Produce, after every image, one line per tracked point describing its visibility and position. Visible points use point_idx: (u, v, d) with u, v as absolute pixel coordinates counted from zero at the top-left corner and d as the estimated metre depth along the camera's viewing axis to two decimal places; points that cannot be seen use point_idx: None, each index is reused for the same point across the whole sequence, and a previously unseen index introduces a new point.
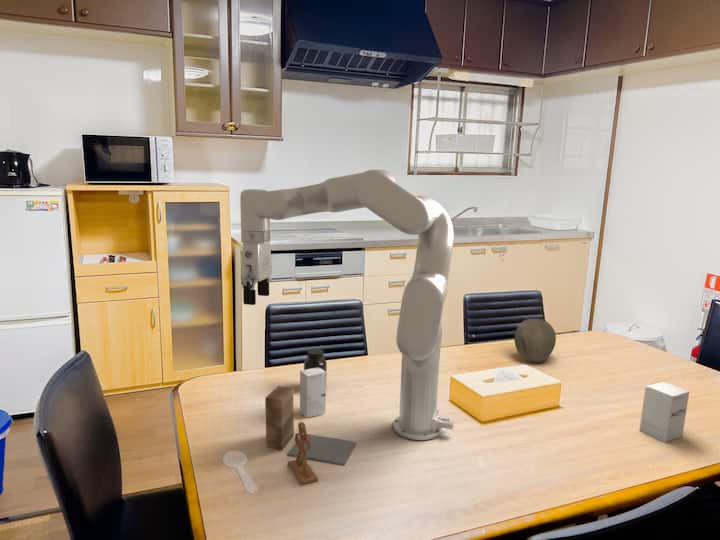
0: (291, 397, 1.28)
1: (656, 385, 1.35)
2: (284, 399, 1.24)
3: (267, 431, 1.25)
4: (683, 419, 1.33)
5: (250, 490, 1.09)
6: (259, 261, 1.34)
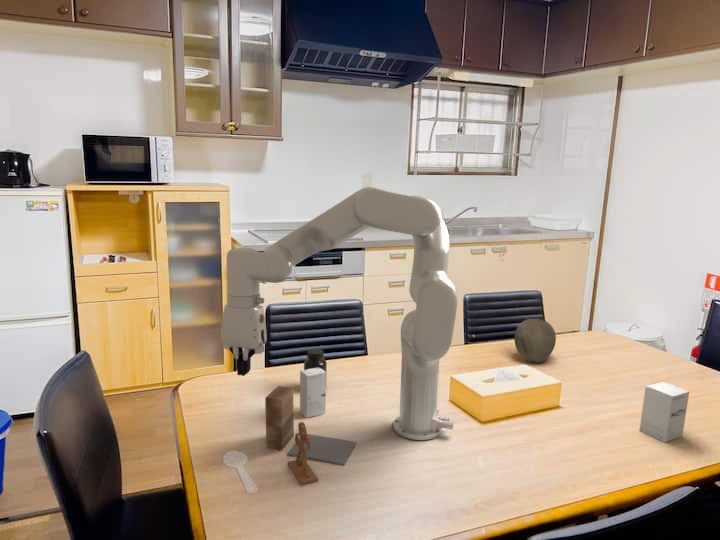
0: (291, 397, 1.28)
1: (656, 385, 1.35)
2: (284, 399, 1.24)
3: (267, 431, 1.25)
4: (683, 419, 1.33)
5: (250, 490, 1.09)
6: None
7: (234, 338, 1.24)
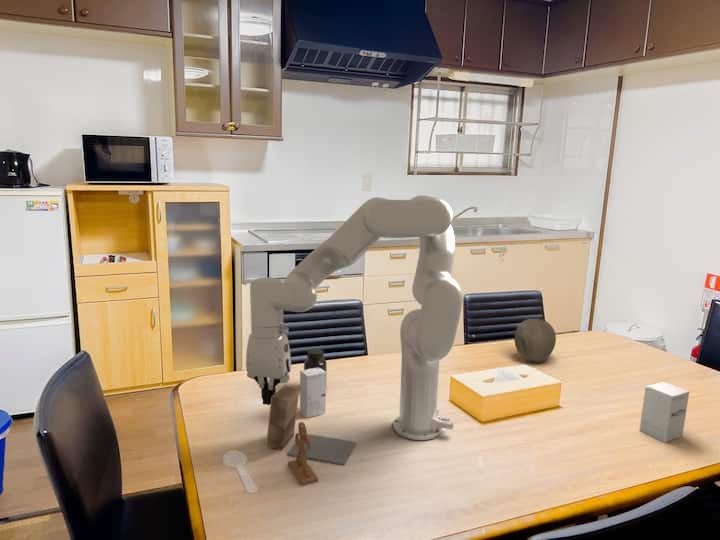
0: (296, 398, 1.27)
1: (656, 385, 1.35)
2: (290, 400, 1.23)
3: (269, 430, 1.24)
4: (683, 419, 1.33)
5: (250, 490, 1.09)
6: None
7: (259, 368, 1.23)
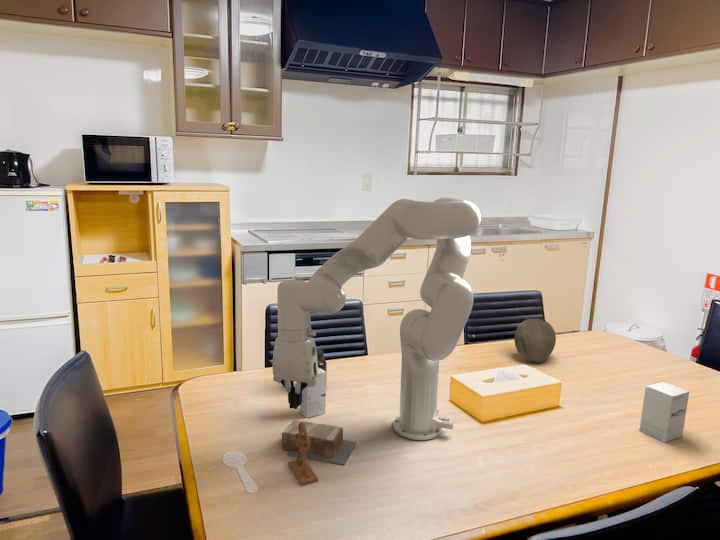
0: None
1: (656, 385, 1.35)
2: None
3: (298, 437, 1.23)
4: (683, 419, 1.33)
5: (250, 490, 1.09)
6: None
7: (286, 372, 1.22)
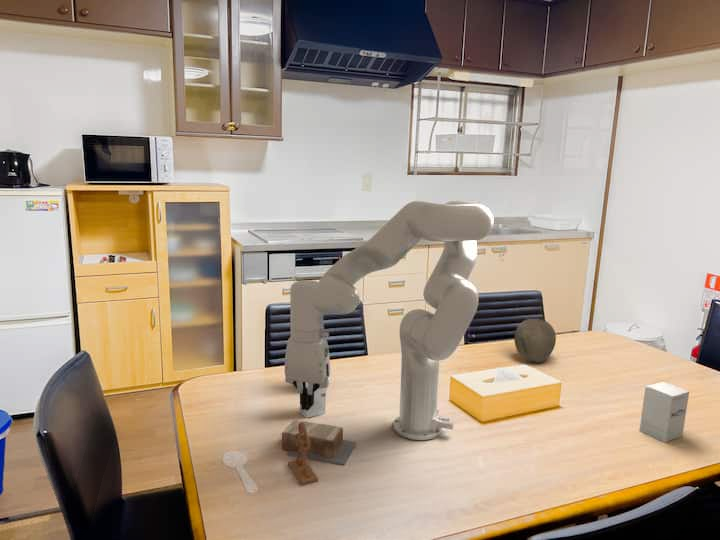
0: None
1: (656, 385, 1.35)
2: None
3: (298, 437, 1.23)
4: (683, 419, 1.33)
5: (250, 490, 1.09)
6: None
7: (298, 373, 1.21)
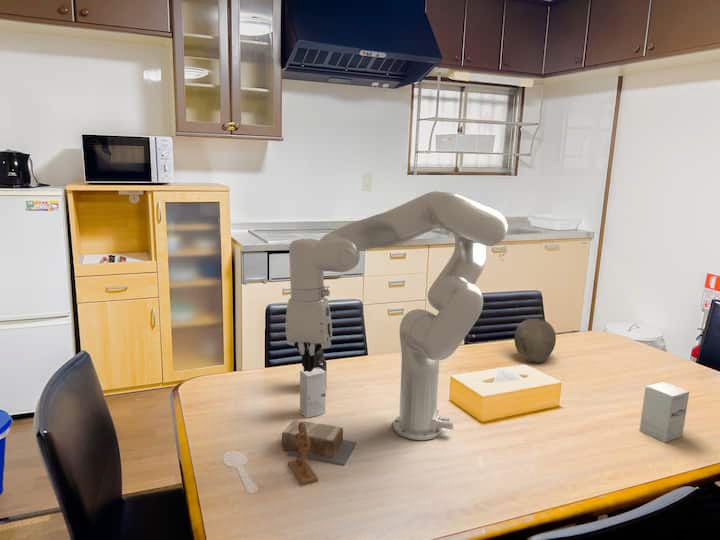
0: None
1: (656, 385, 1.35)
2: None
3: (298, 437, 1.23)
4: (683, 419, 1.33)
5: (250, 490, 1.09)
6: None
7: (300, 333, 1.19)
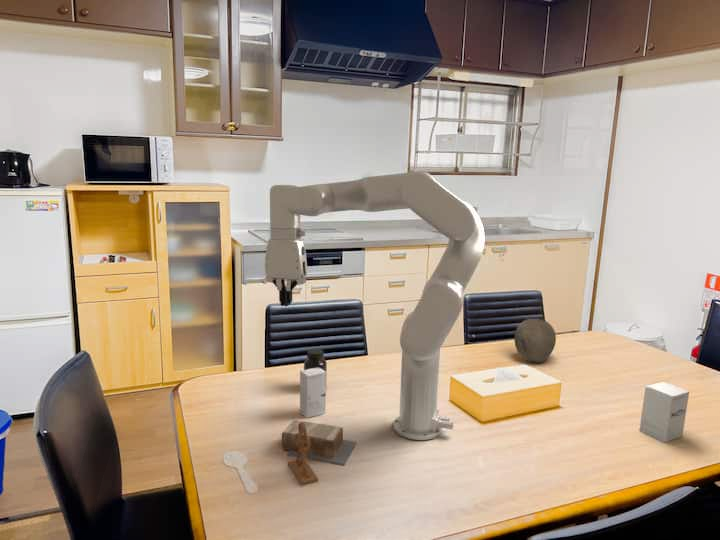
0: None
1: (656, 385, 1.35)
2: None
3: (298, 437, 1.23)
4: (683, 419, 1.33)
5: (250, 490, 1.09)
6: None
7: (277, 270, 1.32)
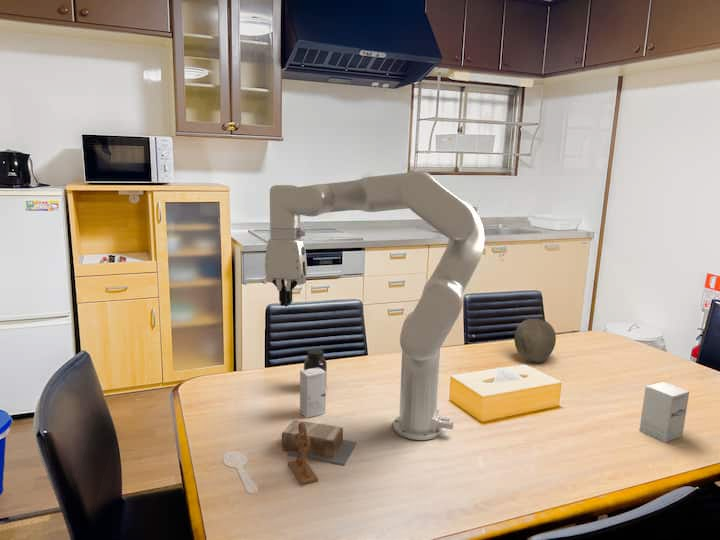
0: None
1: (656, 385, 1.35)
2: None
3: (298, 437, 1.23)
4: (683, 419, 1.33)
5: (250, 490, 1.09)
6: None
7: (277, 270, 1.32)
